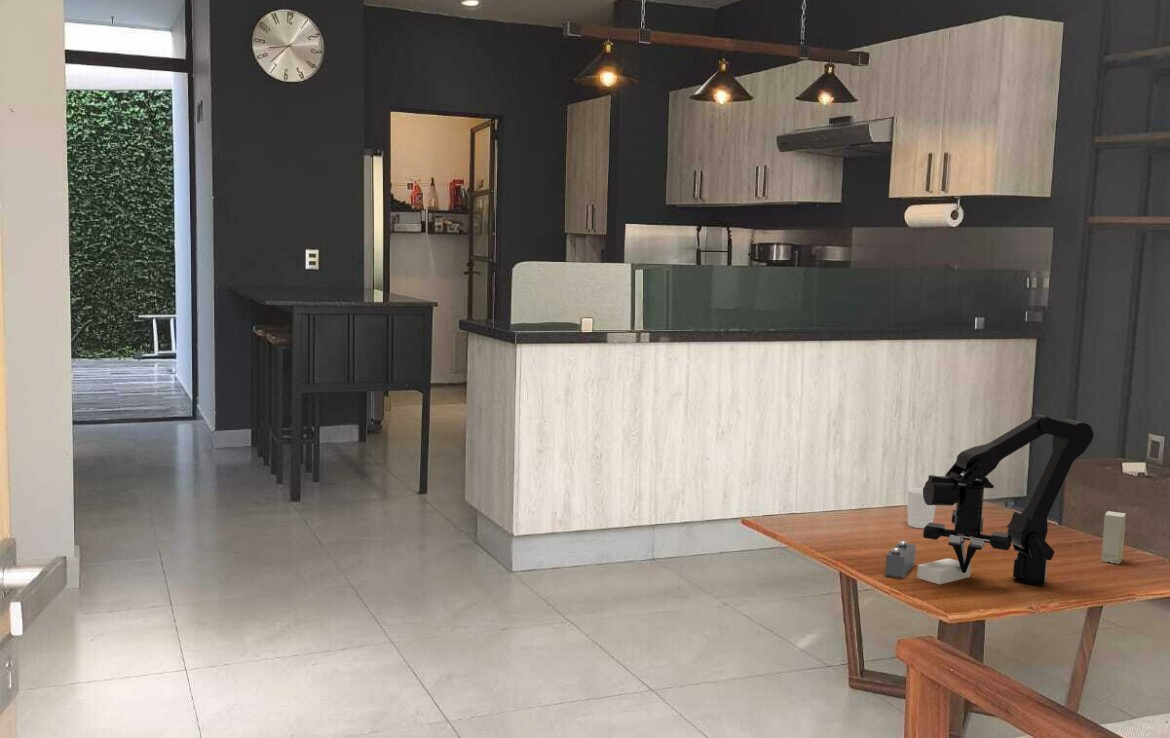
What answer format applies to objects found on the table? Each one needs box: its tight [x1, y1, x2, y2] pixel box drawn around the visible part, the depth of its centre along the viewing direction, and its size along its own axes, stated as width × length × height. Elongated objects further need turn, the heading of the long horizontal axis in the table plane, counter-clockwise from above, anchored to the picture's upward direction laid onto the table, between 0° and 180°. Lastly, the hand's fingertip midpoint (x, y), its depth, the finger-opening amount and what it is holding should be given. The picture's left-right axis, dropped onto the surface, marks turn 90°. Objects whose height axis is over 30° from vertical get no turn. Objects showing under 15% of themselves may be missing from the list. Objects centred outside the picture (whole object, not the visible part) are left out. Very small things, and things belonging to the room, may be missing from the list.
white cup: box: [906, 487, 937, 530], centre depth 307 cm, size 8×8×10 cm
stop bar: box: [884, 540, 917, 579], centre depth 259 cm, size 4×14×6 cm, turn 152°
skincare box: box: [1100, 510, 1127, 565], centre depth 276 cm, size 6×4×12 cm
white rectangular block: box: [916, 557, 972, 585], centre depth 254 cm, size 6×12×4 cm, turn 128°
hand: (964, 572), depth 252 cm, fingers closed
